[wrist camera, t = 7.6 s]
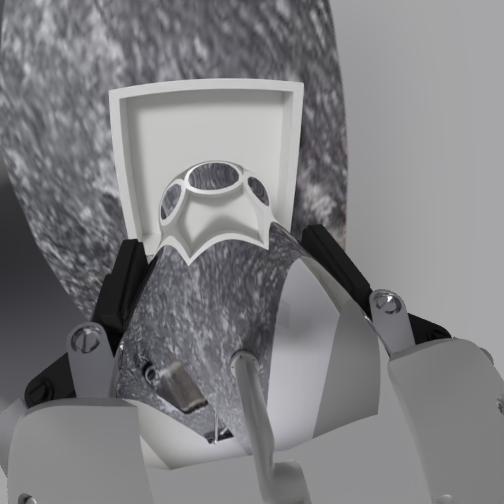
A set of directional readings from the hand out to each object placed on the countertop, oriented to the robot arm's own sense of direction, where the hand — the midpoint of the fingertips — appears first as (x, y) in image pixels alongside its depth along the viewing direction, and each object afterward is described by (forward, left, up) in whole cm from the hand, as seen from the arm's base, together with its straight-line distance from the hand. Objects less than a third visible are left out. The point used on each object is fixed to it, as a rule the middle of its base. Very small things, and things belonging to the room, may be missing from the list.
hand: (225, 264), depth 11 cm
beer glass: (0, 0, -5) cm, 5 cm away
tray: (0, 0, -15) cm, 15 cm away
